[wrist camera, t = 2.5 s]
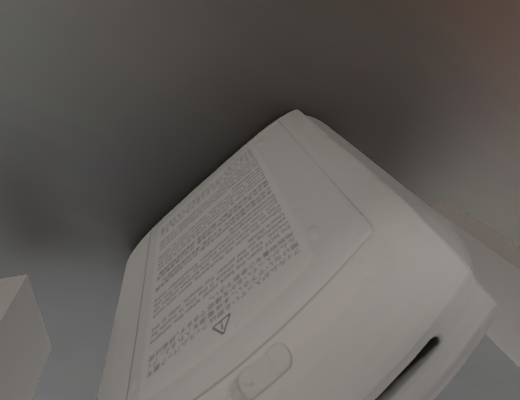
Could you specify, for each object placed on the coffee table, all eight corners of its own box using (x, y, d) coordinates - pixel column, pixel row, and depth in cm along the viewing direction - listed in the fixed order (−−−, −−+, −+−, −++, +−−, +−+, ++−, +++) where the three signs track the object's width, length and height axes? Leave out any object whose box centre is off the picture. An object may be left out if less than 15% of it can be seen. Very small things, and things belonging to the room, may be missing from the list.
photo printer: (183, 314, 21) (191, 655, 10) (112, 255, 20) (21, 584, 8) (358, 164, 20) (596, 359, 9) (296, 89, 18) (489, 206, 7)
